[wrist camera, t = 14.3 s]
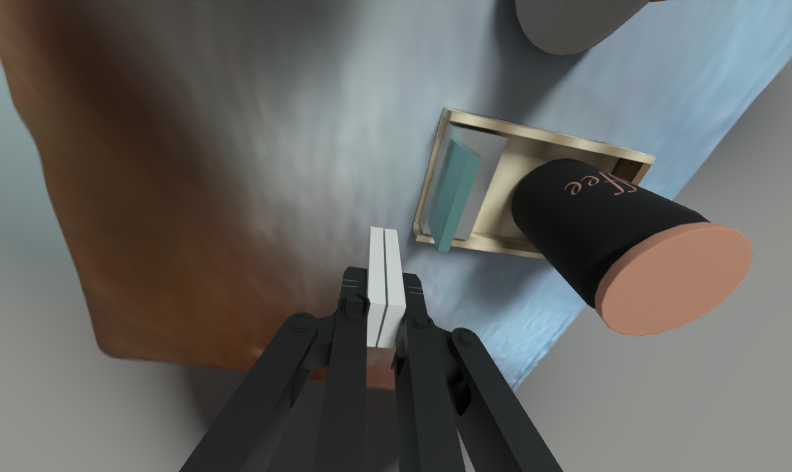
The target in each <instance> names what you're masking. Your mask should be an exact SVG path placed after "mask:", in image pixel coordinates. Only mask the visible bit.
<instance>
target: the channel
mask: <svg viewBox="0 0 792 472" xmlns="http://www.w3.org/2000/svg"><path fill="white" fill-rule="evenodd" d="M447 121H448V122H452V123H457V124H461V125H466V126H471V127H475V128H480V129H485V130H489V131H494V132H498V133H499V134H501V135H503V136H505V137H507V138H508V140H507V143H506V145H505V148H504V150H503V153H502V155H501V158H500V161H499V163H498V166H497V168H496V171H495V173H494V176H493V178H492V181H491V184H490V186H489V189H488V191H487V194H486V196H485V199H484V202H483V204H482V207H481V209H480V212H479V214H478V217H477V220H476V222H475V225H474V227H473V230H472V232H471V235H470V237H469V240H464V239H457V238H454V239H453V241H452V244H451V246H455V247H462V248H468V249H475V250H482V251H489V252H496V253H503V254H510V255H517V256H523V257H530V258H537V259H544V260H547V259H546V258H545V257H544V256H543V254H542V253H541V252H540V251H539V250H538V249H537V248H536V247H535V246H534V244H533V243H532V242H531V241H530V240H529V239H528V238H527V237H526V236H525V234H524V233H523V232H522V231H521V230H520V229H519V228H518V226H517V225H516V224H515V222H514V220H513V216H512V212H511V207H512V198H513V196H514V194H515V191H516V189H517V187H518V185H519V184H520V182H521V181H522V180H523V179H524V178H525V176H526V175H527V174H529V173H530V172H531V171H533V170H534V169H535V168H537V167H538V166H540V165H543V164H545V163H547V162H550V161H552V160H558V159H566V158H570V159H575V160H579V161H582V162H585V163H587V164H589V165H591V166H594V167H596V168H598V169H600V170H603V171H605V172H607V173H610V174H612V175H614V176H616V177H619V178H621V179H623V180H625V181H628V182H630V183H632V184H634V185H637V186H638V184H639V183H640V181H641V180H642V178H643V177H644V175H645V174H646V172H647V171H648V169H649V168H650V166H651V165H652V163H653V162H654V160H655V159H656V157H654V156H651V155H648V154H644V153H641V152H638V151H635V150H631V149H628V148H624V147H619V146H615V145H610V144H606V143H601V142H597V141H592V140H588V139H583V138H579V137H575V136H570V135H566V134H561V133H557V132H552V131H548V130H543V129H539V128H534V127H530V126H525V125H521V124H517V123H512V122H508V121H503V120H499V119H494V118H490V117H485V116H481V115H476V114H472V113H467V112H463V111H459V110H454V109H450V108H445V107H444V109H443V112H442V116H441V120H440V124H439V127H438V131H437V135H436V139H435V143H434V146H433V150H432V154H431V158H430V162H429V165H428V169H427V173H426V177H425V180H424V184H423V188H422V192H421V196H420V199H419V203H418V207H417V211H416V214H415V218H414V222H413V230H414V234H415V239H416V241H420V242H427V243H434V240H433V237H432V235H430V234H424V233H422V230H421V226H420V223H419V220H420V216H421V213H422V209H423V205H424V202H425V198H426V194H427V191H428V187H429V183H430V180H431V176H432V173H433V169H434V165H435V162H436V158H437V154H438V151H439V147H440V144H441V140H442V136H443V133H444V129H445V125H446V122H447ZM434 244H435V243H434Z"/></svg>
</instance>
